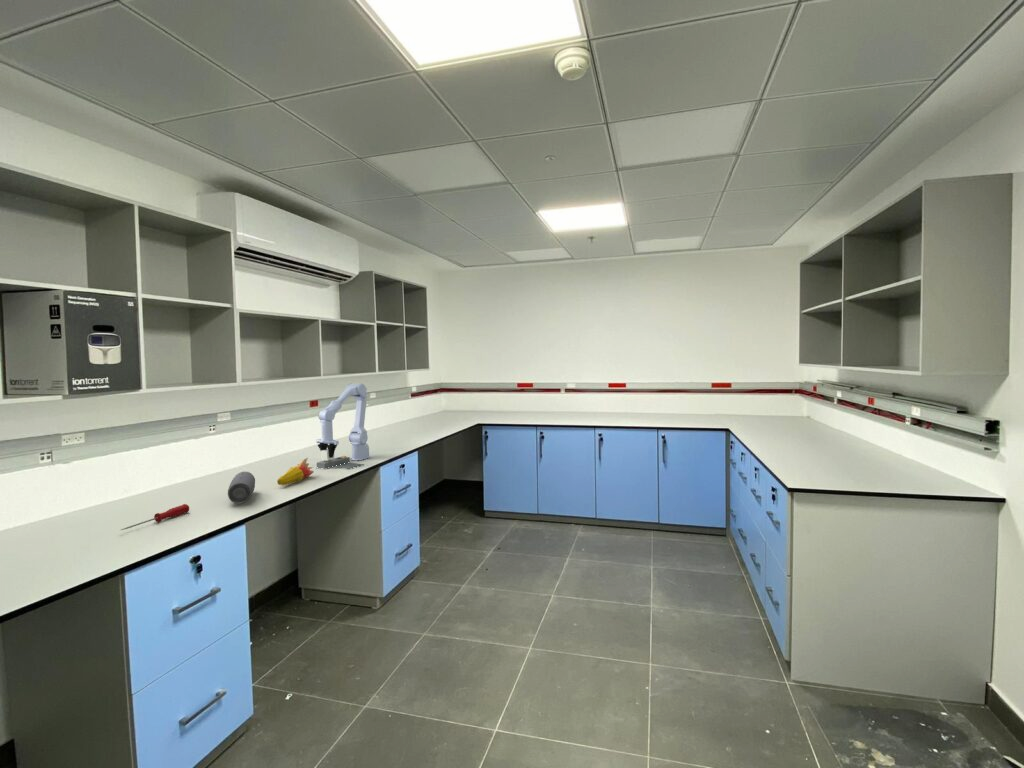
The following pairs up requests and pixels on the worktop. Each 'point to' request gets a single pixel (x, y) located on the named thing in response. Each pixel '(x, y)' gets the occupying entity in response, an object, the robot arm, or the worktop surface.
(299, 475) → the torch
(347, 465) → the mat
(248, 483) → the bluetooth speaker
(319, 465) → the power strip
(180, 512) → the screwdriver
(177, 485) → the worktop surface
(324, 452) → the block
